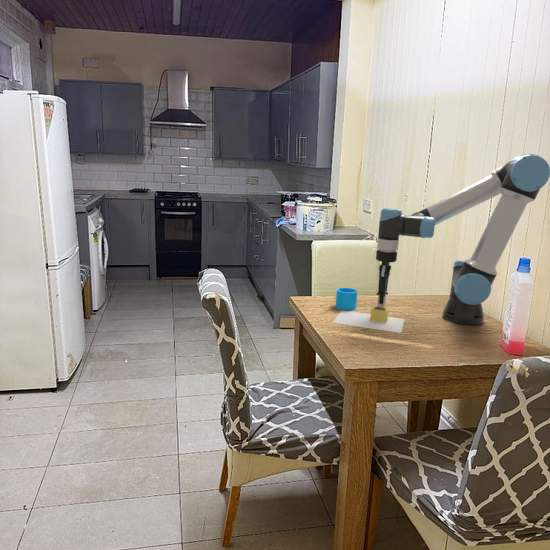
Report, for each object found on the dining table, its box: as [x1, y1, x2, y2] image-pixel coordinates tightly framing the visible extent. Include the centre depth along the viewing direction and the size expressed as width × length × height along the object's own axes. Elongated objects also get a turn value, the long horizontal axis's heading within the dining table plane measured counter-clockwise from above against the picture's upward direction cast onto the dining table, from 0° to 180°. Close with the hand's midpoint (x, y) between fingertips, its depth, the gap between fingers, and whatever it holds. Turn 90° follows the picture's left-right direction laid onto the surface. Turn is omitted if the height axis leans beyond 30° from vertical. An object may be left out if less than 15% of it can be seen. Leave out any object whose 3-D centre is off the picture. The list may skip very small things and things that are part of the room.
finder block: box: [370, 304, 390, 322], centre depth 188 cm, size 6×6×4 cm
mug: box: [335, 287, 358, 311], centre depth 203 cm, size 12×8×8 cm
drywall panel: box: [332, 309, 405, 334], centre depth 186 cm, size 30×17×1 cm, turn 72°
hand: (380, 311), depth 193 cm, fingers closed
